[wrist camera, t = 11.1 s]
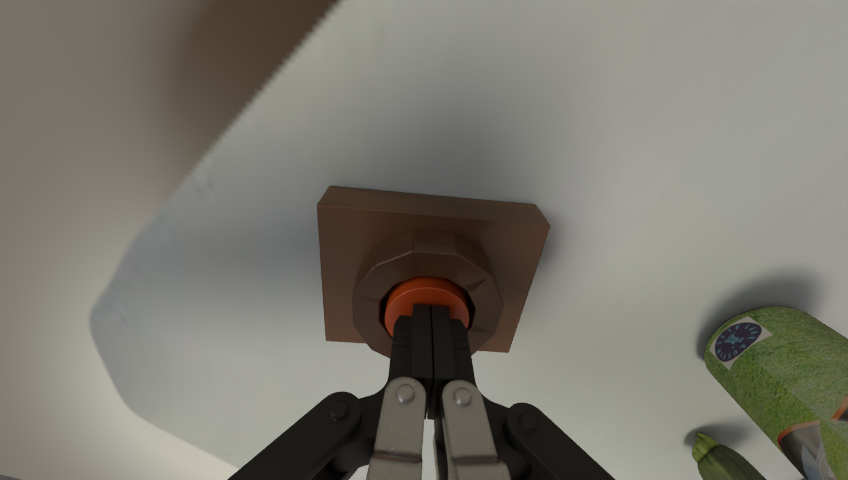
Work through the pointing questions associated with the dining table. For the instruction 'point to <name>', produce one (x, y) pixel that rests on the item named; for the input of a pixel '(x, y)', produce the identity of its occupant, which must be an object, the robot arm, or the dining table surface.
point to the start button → (425, 298)
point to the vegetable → (721, 461)
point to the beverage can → (788, 384)
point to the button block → (425, 259)
